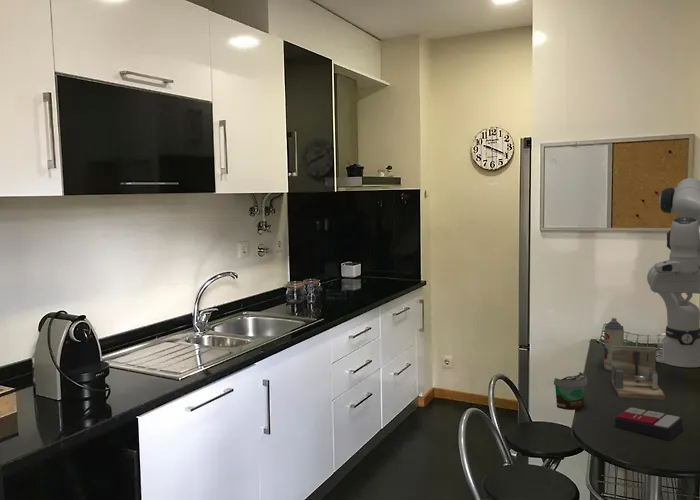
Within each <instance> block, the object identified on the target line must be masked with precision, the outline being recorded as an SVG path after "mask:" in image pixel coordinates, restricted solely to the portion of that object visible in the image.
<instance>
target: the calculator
mask: <svg viewBox="0 0 700 500" xmlns="http://www.w3.org/2000/svg"><path fill="white" fill-rule="evenodd" d="M614 423H615V425H614V426H615V428H618V429H621V428H622V429H623V430H625V429H626V431H629V430H630V432H633V431H635V432H634V433H637V432H638V433H637V434H643V435H647V436H652V437H653V438H656V439H660V440H664V441H669V442H671V440H672V439H674V438H675V437H676V436H677V435H678V434H679V433H681V432H682V431H683V417H680V416H676V415H671V414H665V412H659V411H652V410H646V409H642V408H641V409H640V408H637V407H629V408H628V409H626V410H624V411H623V412H622V413H620V414H619V415H617V416H616V417H615V419H614Z"/></svg>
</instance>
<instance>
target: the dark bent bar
mask: <svg viewBox="0 0 700 500" xmlns="http://www.w3.org/2000/svg"><path fill="white" fill-rule="evenodd" d="M639 353H640V352H634V355H636V358H635V375H636V376H638V355H639ZM637 381H639V380H637Z"/></svg>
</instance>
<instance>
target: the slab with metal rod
mask: <svg viewBox="0 0 700 500" xmlns="http://www.w3.org/2000/svg"><path fill="white" fill-rule="evenodd" d="M634 380H641V381H649V384H650V386H651V387H652V389H657V385H658V373H657V372H656V369H655V370H654V369H649V376H636V375H634Z"/></svg>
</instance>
